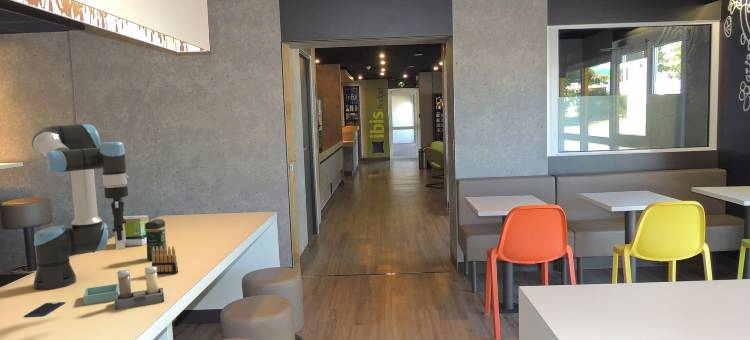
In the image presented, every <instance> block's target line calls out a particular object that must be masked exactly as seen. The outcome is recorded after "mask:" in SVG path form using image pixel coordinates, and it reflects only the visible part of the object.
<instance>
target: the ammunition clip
mask: <svg viewBox="0 0 750 340" xmlns="http://www.w3.org/2000/svg"><path fill="white" fill-rule="evenodd" d="M152 266H155V267H157V276H158V275H177V274H178V273H179V268H178V261H177V255H176V249H175V246H174V245H172V247H171V246H170V245H168V247H167V249H166V247H164V255H163V249H162V247H160V255H159V249H158V247H156V255H155V249H154V247H152V260H151V267H152Z"/></svg>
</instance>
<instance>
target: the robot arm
mask: <svg viewBox="0 0 750 340" xmlns="http://www.w3.org/2000/svg"><path fill="white" fill-rule="evenodd" d="M31 145H32V149H33V150H34V151H35V152H36V153H37V154H38V155H39V156H43V157H45V163H46V167H47V170H48V171H49V172H50V173H60V174H61V173H66V172H70V176H71V177H70V179H71V180H70V181H71V190H72V200H73V201H72V202H73V212H74V219H73V220H72V221H71V227H67V226H66V225H63V224H61V225H60V224H59V225H54V226H49V227H46V228H43V229H41V230H38V231H37V232H36V233H34V237H33V238H34V239H33V240H34V242H33V245H34V250H35V260H36V261H35V263H36V271H35V275H34V279H33V288H34V289H35V290H41V291H42V290H53V289H59V288H64V287H67V286H70V285H73V284H75V283H76V282H77V275H76V274H75V271H74V269H73V267H72V265H71V263H70V257H72V256H79V255H83V254H90V253H92V254H93V253H95V252H100V251H103V250H104V249H106V247H107V246H108V242H109V241H108V240H109V230H108V225H107V224H106V223H105V222H103V220H102V218H101V217H100V216H99V215H98V213H99V212H98V203H97V192H96V190H97V189H96V181H95V179H96V178H95V170H98V169H99V170H100V169H101V170H102V180H103V181H102V182H103V183H102V184H103V186H104V188H103V189H104V190H103V191H104V197H105V199H112V202H111V204H110V207H111V208H110V209H111V211H112V216H113V220H114V222H113V228H112V232H113V233H114V232H115V233H114V239H115V240H116V242H115V248H116V251H120V250H121V251H122V250H126V246H125V242H126V236H125V226H124V223H126V220H125V221H124V217H123V216H124V211H125V210H124V209H125V208H124V207H125V204H124V203H125V202H124V201H123V198H127V197H128V196H129V188H128V187H129V186H128V185H127V184H128V179H129V175H127V165H126V155H125V153H126V150H125V145H124V143H123V142H122V141H105V142H101V139H100V135H99V132H98V130H97V129H96V127H95V126H93V125H92V124H83V123H81V124H67V125H63V124H62V125H61V124H60V125H49V126H46V127H44V128H42V129H40V130H38V131H37V132H36V133H35V134H33V137H32V139H31Z"/></svg>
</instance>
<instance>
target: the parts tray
mask: <svg viewBox="0 0 750 340" xmlns="http://www.w3.org/2000/svg"><path fill="white" fill-rule="evenodd" d="M117 294H120V292H119V283H115V284H108V285H99V286H92V287H86V288H85V291H84V294H83V295H82V296H83V304H84V306H86V305H93V304H101V303H107V302H115V295H117Z"/></svg>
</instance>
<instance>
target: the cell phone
mask: <svg viewBox="0 0 750 340" xmlns="http://www.w3.org/2000/svg"><path fill="white" fill-rule="evenodd" d="M63 305H66V301H58V302H55V301H54V302H45V303H43V304H41V305H39V306H38V307H36V308H34V309H33V310H32V311H29V312H27V313H26V314H25V315H23V318H36V317H37V318H38V317H39V318H40V317H41V318H42V317H46V316H47V315H49V314H50V313H53V312H54V311H55V310H57V309H59V308H60V307H62V306H63Z"/></svg>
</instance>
